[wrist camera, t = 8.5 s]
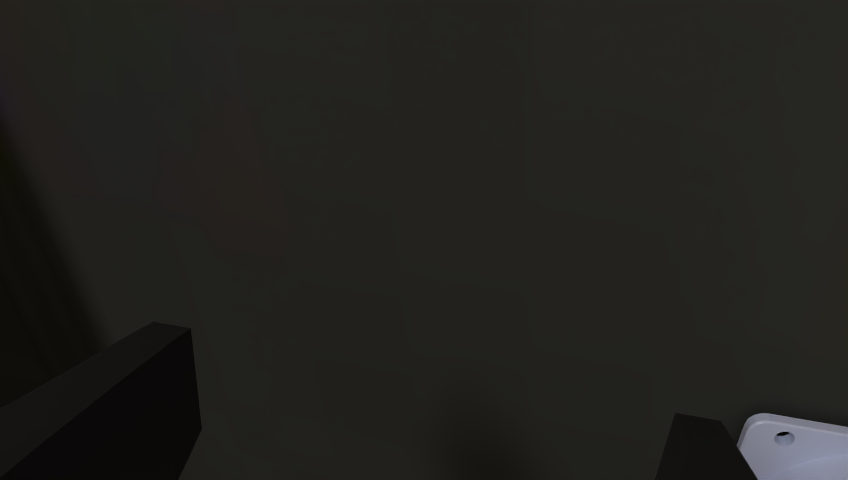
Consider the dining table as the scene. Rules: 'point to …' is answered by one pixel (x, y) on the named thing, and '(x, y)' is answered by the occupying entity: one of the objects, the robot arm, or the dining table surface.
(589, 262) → the dining table surface
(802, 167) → the dining table surface
